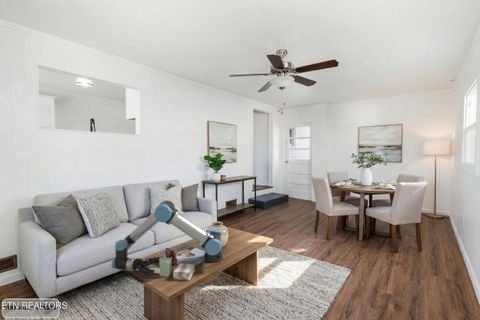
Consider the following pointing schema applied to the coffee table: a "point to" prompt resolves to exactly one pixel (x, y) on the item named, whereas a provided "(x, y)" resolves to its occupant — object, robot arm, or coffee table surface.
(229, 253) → the coffee table surface
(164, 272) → the sage green block
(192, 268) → the off-white base block
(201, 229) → the robot arm
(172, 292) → the coffee table surface
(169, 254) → the red grape bunch
